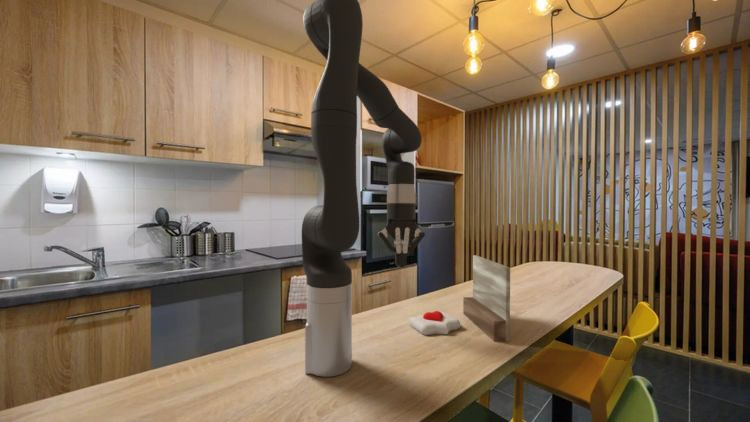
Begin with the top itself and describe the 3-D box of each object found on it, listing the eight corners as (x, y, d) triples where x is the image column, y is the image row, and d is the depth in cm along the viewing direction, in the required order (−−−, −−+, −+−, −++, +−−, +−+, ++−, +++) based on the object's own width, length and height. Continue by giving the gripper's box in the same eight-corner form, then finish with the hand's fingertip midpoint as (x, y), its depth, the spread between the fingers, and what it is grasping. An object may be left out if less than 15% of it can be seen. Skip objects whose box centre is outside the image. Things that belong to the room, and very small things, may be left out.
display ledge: (494, 341, 76) (494, 268, 76) (463, 313, 96) (463, 255, 96) (509, 340, 77) (510, 267, 76) (475, 313, 97) (476, 255, 96)
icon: (427, 323, 78) (407, 310, 87) (427, 340, 78) (407, 326, 87) (466, 316, 82) (444, 305, 92) (466, 332, 82) (444, 320, 92)
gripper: (377, 201, 78) (377, 270, 79) (429, 201, 80) (429, 269, 80) (375, 202, 86) (374, 264, 86) (422, 202, 87) (421, 264, 87)
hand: (401, 266), depth 83 cm, fingers closed
